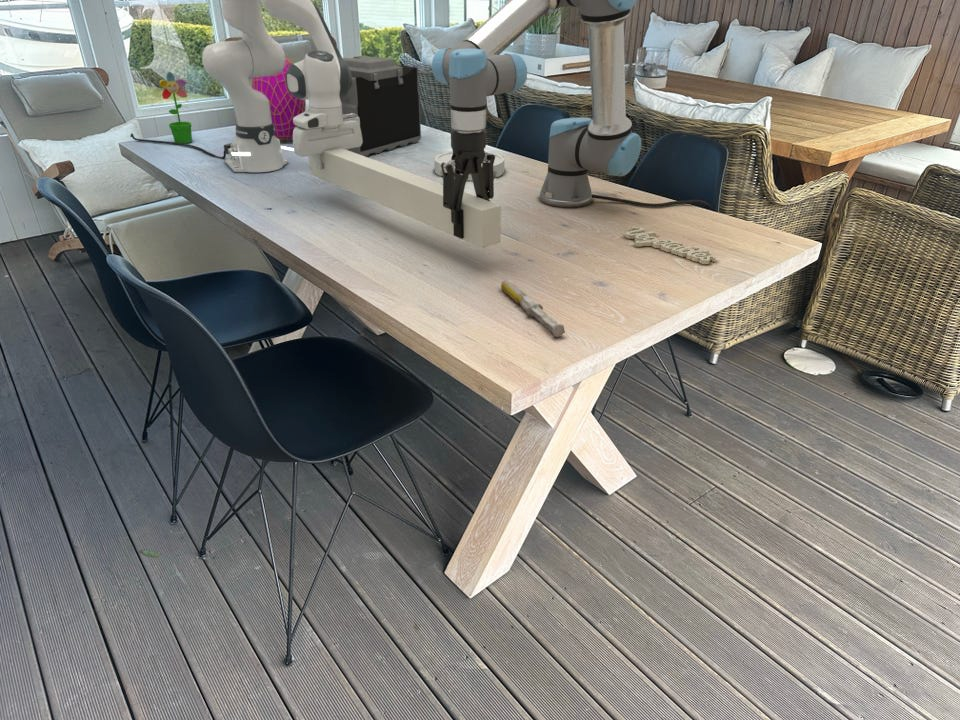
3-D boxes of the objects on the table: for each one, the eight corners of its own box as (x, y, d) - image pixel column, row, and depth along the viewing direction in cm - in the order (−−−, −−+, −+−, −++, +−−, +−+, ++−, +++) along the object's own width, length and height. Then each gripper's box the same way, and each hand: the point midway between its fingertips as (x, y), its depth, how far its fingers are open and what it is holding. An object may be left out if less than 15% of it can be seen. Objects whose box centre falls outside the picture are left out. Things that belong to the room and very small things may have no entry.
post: (500, 242, 154) (501, 205, 150) (482, 248, 151) (482, 210, 147) (327, 170, 203) (323, 141, 199) (310, 174, 200) (306, 144, 196)
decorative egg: (293, 132, 276) (283, 50, 261) (319, 140, 264) (310, 56, 249) (249, 139, 265) (236, 54, 250) (273, 148, 253) (261, 60, 238)
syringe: (497, 287, 149) (497, 275, 147) (512, 284, 150) (513, 273, 149) (547, 340, 129) (548, 327, 128) (565, 336, 130) (566, 324, 129)
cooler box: (383, 133, 276) (378, 52, 261) (425, 141, 265) (422, 56, 250) (314, 150, 251) (304, 61, 235) (358, 160, 240) (350, 67, 224)
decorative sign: (611, 234, 176) (635, 225, 181) (610, 237, 176) (634, 229, 182) (700, 264, 159) (723, 254, 164) (699, 268, 159) (723, 257, 165)
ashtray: (437, 161, 240) (437, 149, 238) (504, 162, 239) (504, 150, 237) (431, 179, 220) (431, 167, 218) (504, 181, 219) (504, 168, 217)
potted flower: (172, 145, 255) (157, 73, 243) (170, 140, 261) (154, 70, 249) (199, 142, 259) (185, 71, 247) (196, 138, 265) (182, 68, 253)
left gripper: (352, 110, 196) (356, 159, 203) (287, 119, 184) (293, 170, 191) (365, 113, 192) (368, 163, 199) (298, 123, 180) (304, 175, 187)
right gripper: (489, 120, 153) (488, 220, 165) (422, 132, 142) (427, 238, 154) (512, 125, 148) (509, 228, 160) (445, 139, 138) (447, 248, 150)
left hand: (331, 167), depth 195 cm, fingers closed on post, 5 cm apart
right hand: (469, 233), depth 157 cm, fingers closed on post, 5 cm apart
